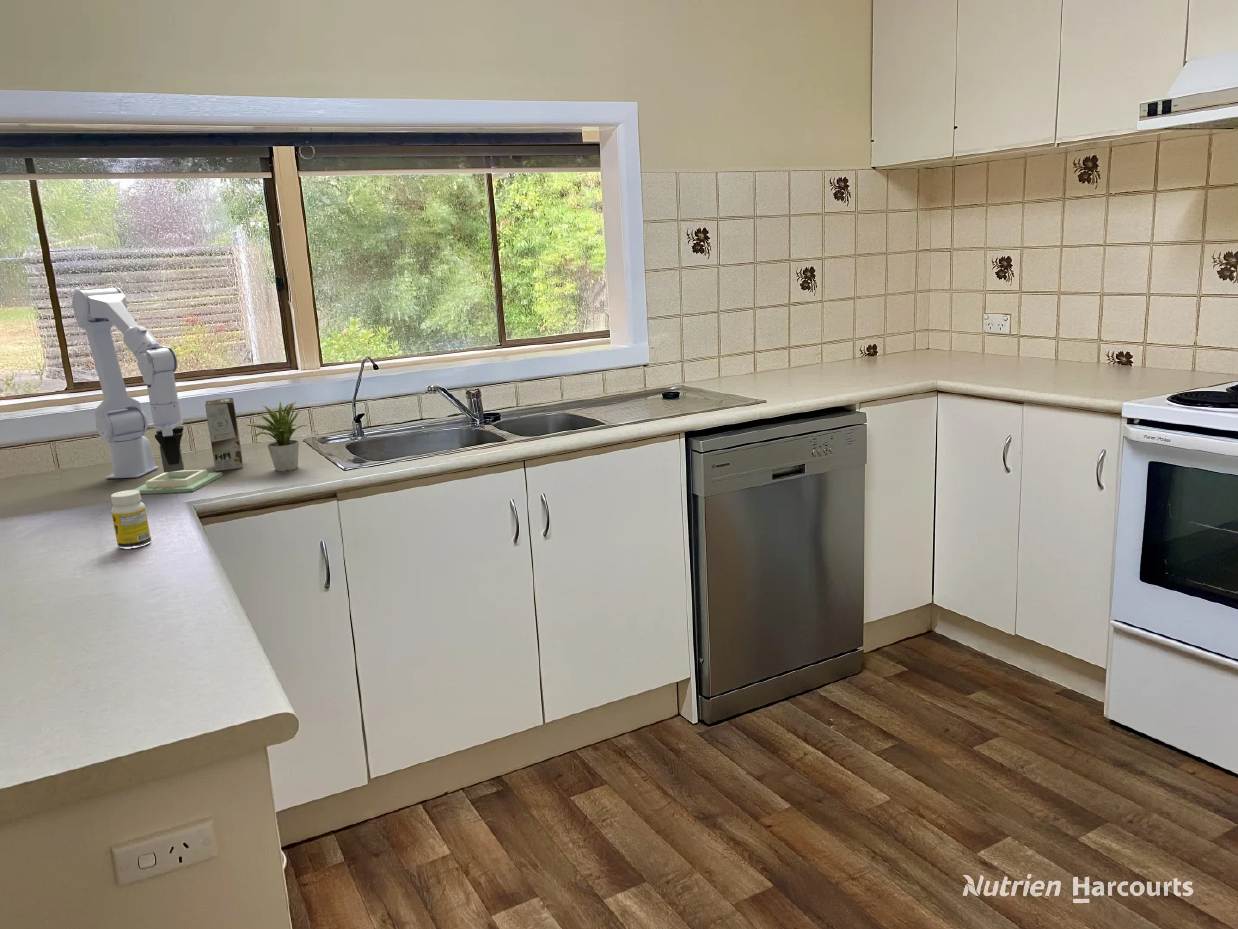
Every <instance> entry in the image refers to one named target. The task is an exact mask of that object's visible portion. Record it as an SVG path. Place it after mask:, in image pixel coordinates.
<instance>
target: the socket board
mask: <svg viewBox="0 0 1238 929" xmlns="http://www.w3.org/2000/svg"><path fill="white" fill-rule="evenodd" d="M221 477H223V472H222V471H221V472H208V470H207V469H206V468H205V469H188V470H187V469H184V470H181V471H174V472H167V473H164V472H163V473H161V474H158V475H156V476H154V477H152V478H150V479H148V480H146V481H145V483H144V484H142V485H140V486H138V487H136V488H133V490H138V491H140V495H141V494H142V495H146V494H167V493H168V494H172V493H174V494H175V493H191V492H190V491H194V492H195V491H197V490H198V489H201V488H202V486H203V485H205V486H206V485H208V484H210V483H212V482H214V481H215V480H214V479H216V480H218V479H219V478H221ZM213 480H214V481H213ZM211 481H212V482H211ZM203 487H204V486H203Z"/></svg>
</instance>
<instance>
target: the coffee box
mask: <svg viewBox="0 0 1238 929" xmlns="http://www.w3.org/2000/svg"><path fill="white" fill-rule="evenodd" d="M204 406H205V412H206V420H207V426H208V432H209V438H210V444H211V451H212V457H213V462H214V470H215V471H216V472H219V471H226V470H227V471H228V470H235V469H242V468H243V455H242V448H241V447H242V446H241V440H240V439H241V438H240V432H239V428H238V421H237V413H236V409H235V408H236V407H235V403H234V398H233V397H229V398H228V397H227V398H219V399H218V398H217V399H213V400H206V401H205V404H204ZM241 467H242V468H241Z"/></svg>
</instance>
